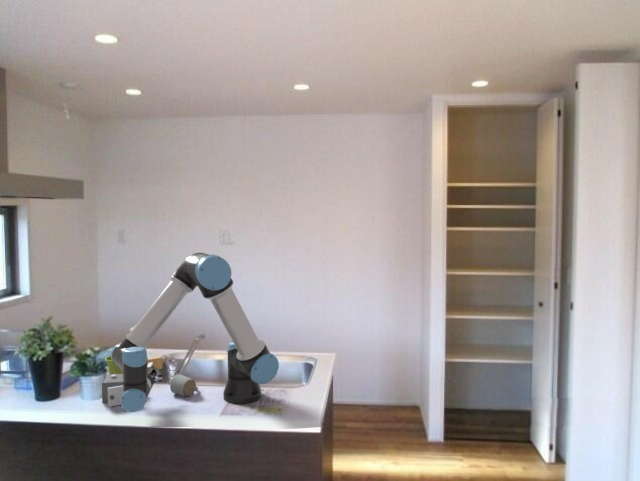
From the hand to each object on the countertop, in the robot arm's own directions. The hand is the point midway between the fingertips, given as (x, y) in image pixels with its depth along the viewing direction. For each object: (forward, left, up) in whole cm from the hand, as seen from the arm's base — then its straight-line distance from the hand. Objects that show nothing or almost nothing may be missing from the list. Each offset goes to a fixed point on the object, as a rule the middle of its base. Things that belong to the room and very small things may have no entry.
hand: (151, 365), depth 198 cm
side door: (+5, +1, -14) cm, 15 cm away
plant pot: (+20, -32, -14) cm, 41 cm away
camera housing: (+12, -5, -14) cm, 20 cm away
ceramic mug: (-12, -6, -14) cm, 20 cm away
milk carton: (+15, -51, -14) cm, 55 cm away
